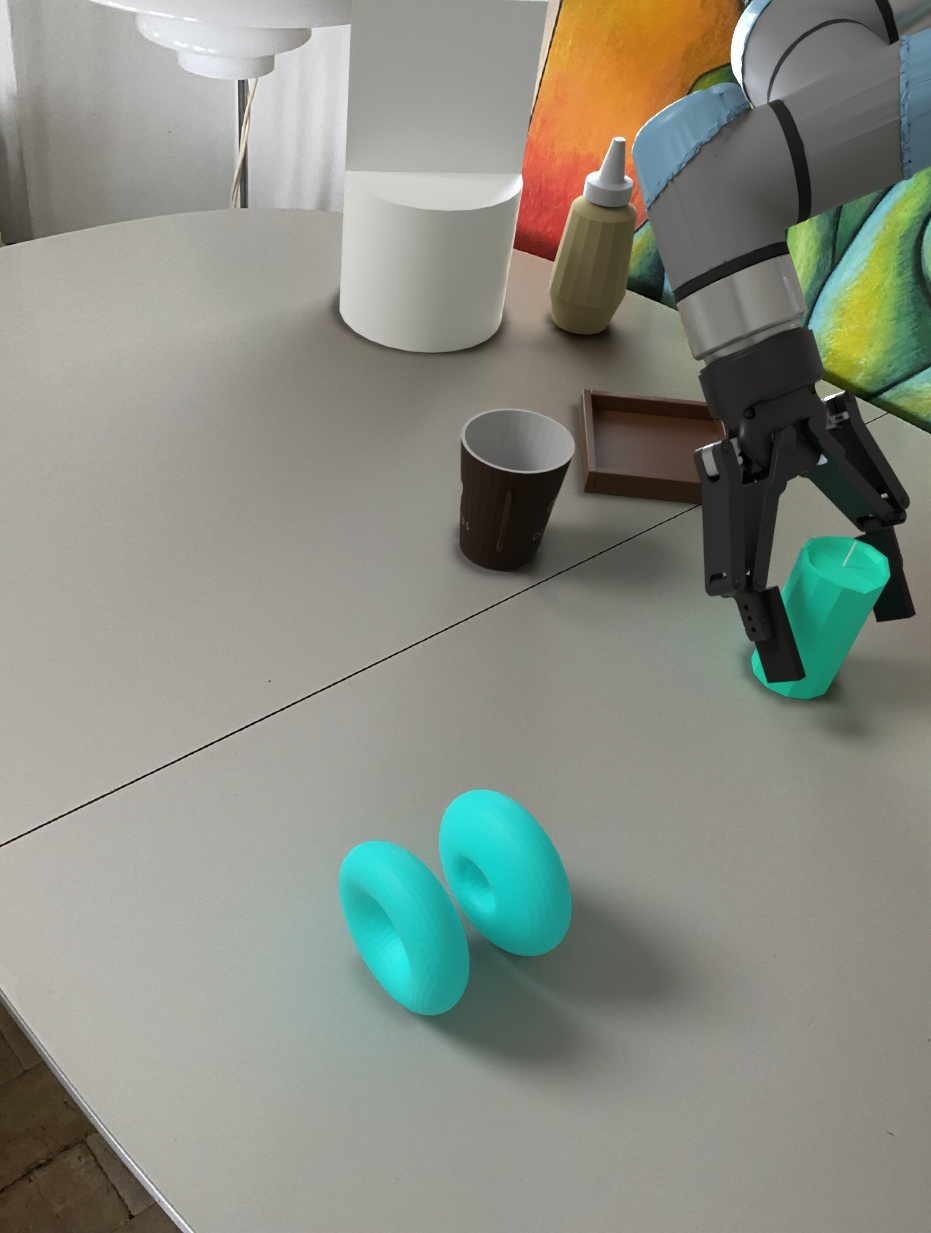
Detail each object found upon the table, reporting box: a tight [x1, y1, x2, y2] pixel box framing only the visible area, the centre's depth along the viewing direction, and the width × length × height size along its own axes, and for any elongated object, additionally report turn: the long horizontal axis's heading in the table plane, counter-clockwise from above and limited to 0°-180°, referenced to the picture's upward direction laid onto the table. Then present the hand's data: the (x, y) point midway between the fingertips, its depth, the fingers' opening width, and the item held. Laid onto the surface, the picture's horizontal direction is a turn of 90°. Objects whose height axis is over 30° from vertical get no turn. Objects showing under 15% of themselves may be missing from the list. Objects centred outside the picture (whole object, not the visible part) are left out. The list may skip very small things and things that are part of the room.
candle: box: [750, 535, 890, 700], centre depth 75 cm, size 6×6×12 cm
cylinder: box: [339, 0, 549, 354], centre depth 102 cm, size 17×17×28 cm
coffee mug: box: [458, 407, 576, 572], centre depth 83 cm, size 12×9×10 cm
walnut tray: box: [577, 388, 725, 505], centre depth 97 cm, size 14×14×2 cm
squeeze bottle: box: [547, 136, 638, 335], centre depth 106 cm, size 8×8×18 cm
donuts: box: [338, 788, 573, 1016], centre depth 59 cm, size 10×10×10 cm
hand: (843, 648), depth 75 cm, fingers open, 11 cm apart
